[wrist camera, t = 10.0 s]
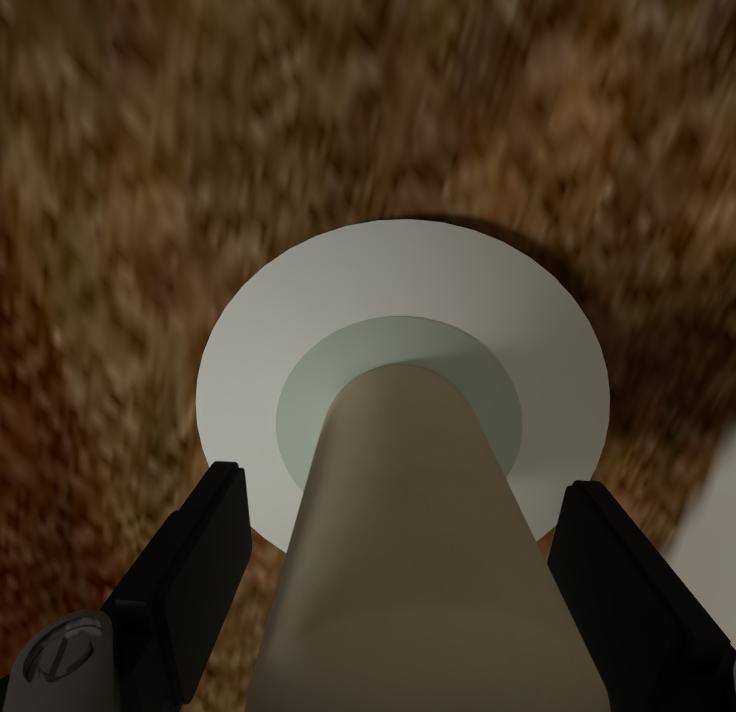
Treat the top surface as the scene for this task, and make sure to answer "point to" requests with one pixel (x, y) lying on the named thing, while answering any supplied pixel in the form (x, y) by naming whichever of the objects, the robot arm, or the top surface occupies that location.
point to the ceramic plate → (403, 358)
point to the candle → (415, 571)
